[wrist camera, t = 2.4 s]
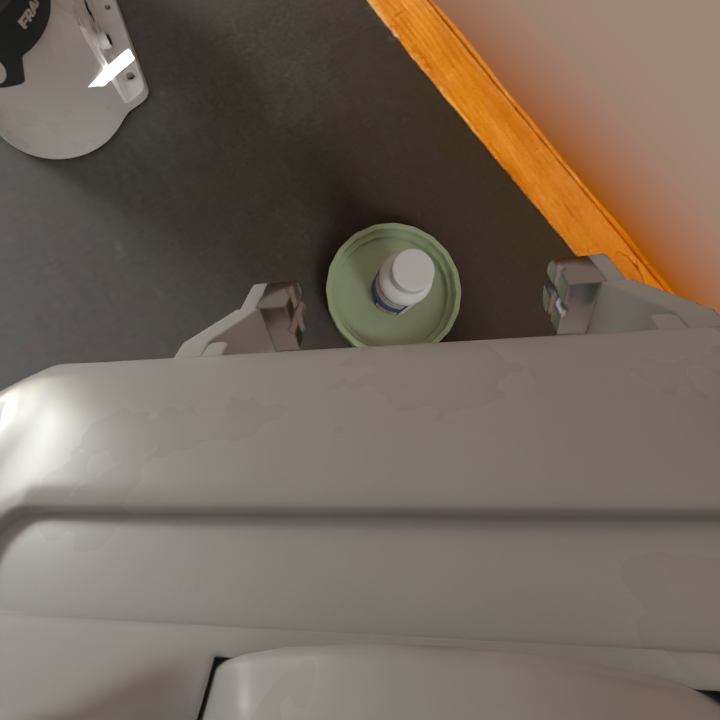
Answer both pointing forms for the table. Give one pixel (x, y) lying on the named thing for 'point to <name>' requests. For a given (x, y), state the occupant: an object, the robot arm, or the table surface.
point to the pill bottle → (402, 282)
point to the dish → (357, 273)
